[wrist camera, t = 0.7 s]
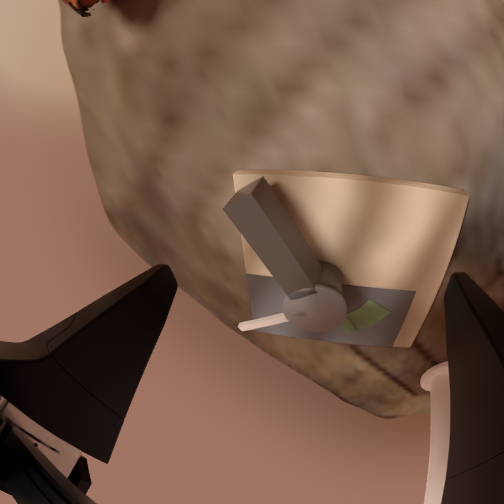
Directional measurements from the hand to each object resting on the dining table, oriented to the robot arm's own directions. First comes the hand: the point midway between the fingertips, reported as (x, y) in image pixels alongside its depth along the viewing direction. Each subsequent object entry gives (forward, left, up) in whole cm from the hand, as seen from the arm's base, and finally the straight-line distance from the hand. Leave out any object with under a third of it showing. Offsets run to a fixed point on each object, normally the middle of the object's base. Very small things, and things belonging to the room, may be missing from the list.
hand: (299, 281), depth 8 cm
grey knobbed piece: (+4, +7, -10) cm, 13 cm away
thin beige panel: (-2, +9, -11) cm, 14 cm away
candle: (-18, +24, -12) cm, 32 cm away
